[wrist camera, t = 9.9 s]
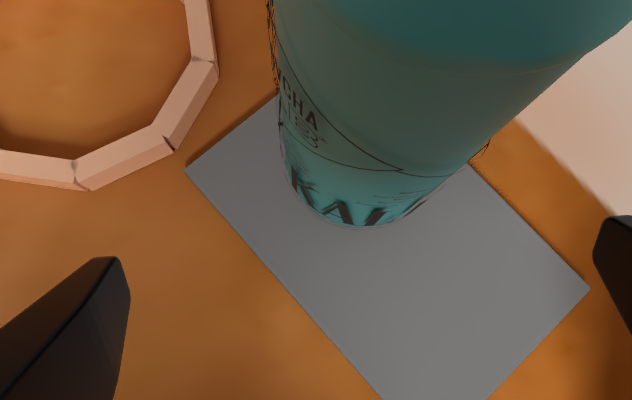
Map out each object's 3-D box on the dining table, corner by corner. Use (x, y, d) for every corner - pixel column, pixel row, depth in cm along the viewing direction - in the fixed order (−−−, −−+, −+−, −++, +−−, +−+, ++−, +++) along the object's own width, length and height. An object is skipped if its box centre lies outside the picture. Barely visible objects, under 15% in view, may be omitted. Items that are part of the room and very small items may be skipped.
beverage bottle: (368, 77, 23) (750, -1186, 4) (454, 189, 22) (1673, -764, 2) (254, 150, 22) (-82, -1067, 3) (337, 270, 21) (859, -262, 1)
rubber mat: (584, 289, 22) (591, 288, 21) (428, 453, 20) (432, 456, 19) (344, 45, 24) (345, 40, 23) (185, 173, 22) (182, 170, 22)
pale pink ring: (192, 207, 22) (184, 199, 20) (-105, 164, 22) (-134, 153, 20) (242, -37, 25) (239, -59, 23) (-19, -76, 25) (-39, -100, 23)
